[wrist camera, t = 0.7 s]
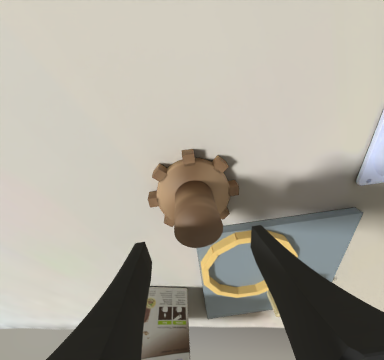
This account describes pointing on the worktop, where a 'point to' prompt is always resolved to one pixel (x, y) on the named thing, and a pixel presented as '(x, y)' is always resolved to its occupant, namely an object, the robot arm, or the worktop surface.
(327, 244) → the carrier plate
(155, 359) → the coffee box
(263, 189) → the worktop surface
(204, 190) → the planet gear
